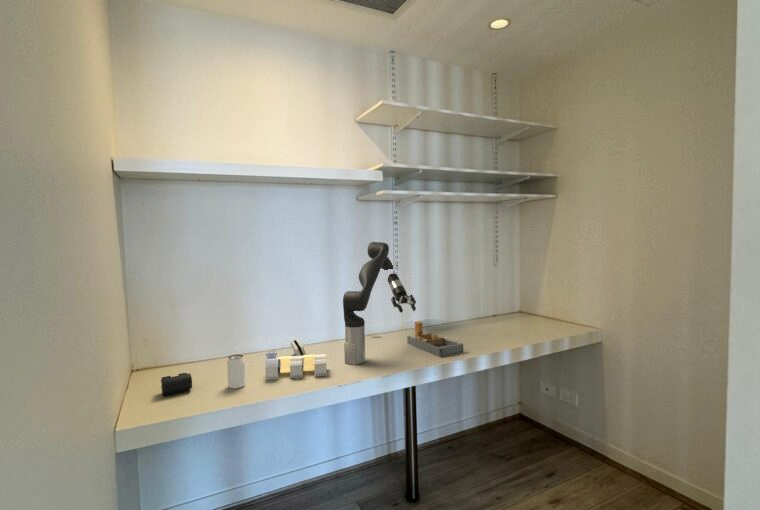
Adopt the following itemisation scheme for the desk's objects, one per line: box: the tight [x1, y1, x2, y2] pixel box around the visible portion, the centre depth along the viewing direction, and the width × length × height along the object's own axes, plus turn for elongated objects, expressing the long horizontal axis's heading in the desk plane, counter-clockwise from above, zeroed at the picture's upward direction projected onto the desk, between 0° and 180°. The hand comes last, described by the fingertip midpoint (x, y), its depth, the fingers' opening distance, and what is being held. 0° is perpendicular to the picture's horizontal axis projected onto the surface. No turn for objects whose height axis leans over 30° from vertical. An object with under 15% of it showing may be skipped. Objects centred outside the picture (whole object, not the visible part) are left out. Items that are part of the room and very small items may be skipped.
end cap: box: [160, 372, 193, 397], centre depth 151 cm, size 10×7×7 cm
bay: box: [406, 332, 464, 358], centre depth 204 cm, size 30×14×4 cm, turn 28°
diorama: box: [264, 348, 327, 381], centre depth 168 cm, size 25×10×13 cm, turn 99°
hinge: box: [289, 338, 308, 356], centre depth 192 cm, size 17×5×10 cm, turn 23°
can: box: [226, 354, 246, 390], centre depth 156 cm, size 6×6×12 cm
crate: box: [414, 321, 445, 346], centre depth 210 cm, size 17×10×10 cm, turn 28°
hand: (408, 311), depth 225 cm, fingers open, 8 cm apart
